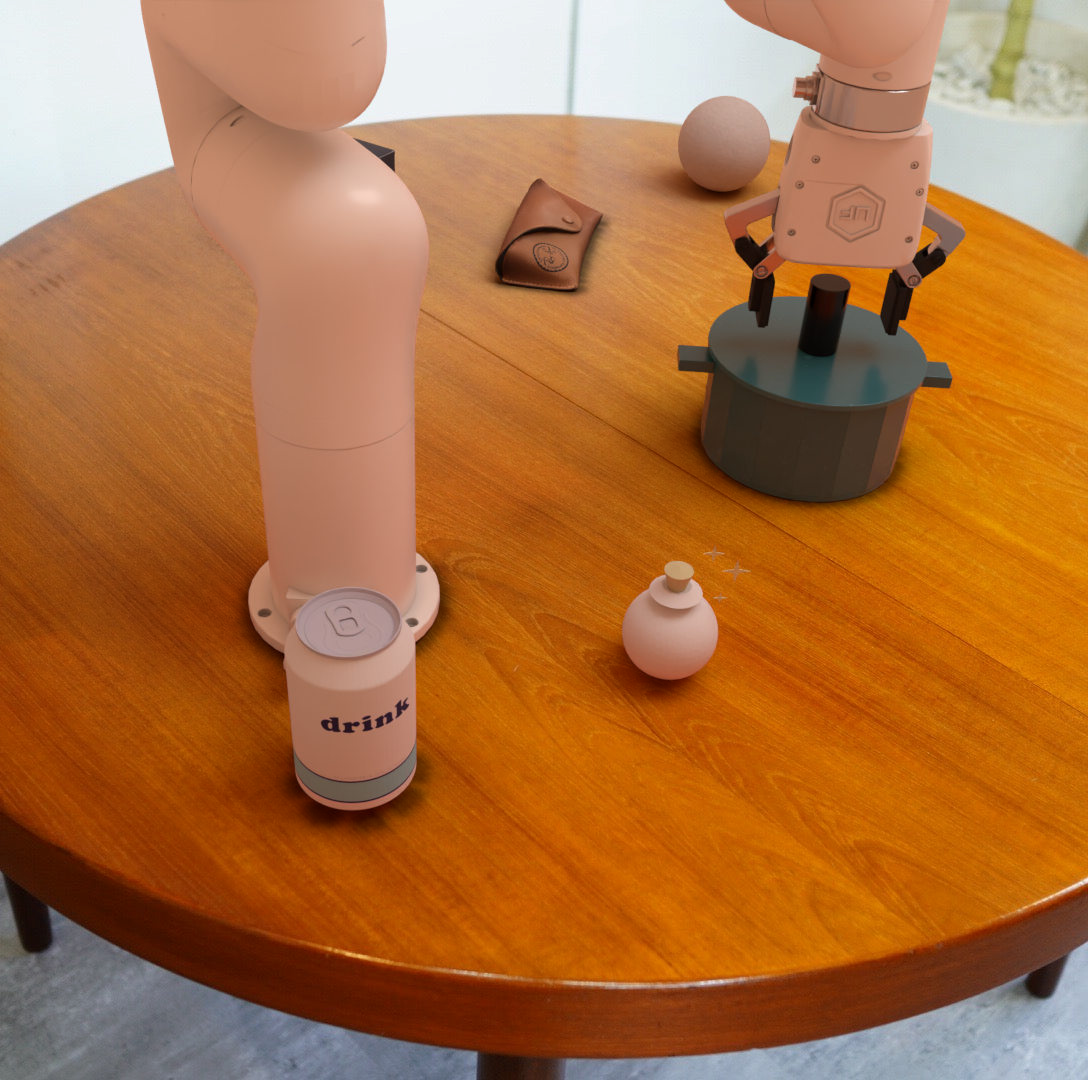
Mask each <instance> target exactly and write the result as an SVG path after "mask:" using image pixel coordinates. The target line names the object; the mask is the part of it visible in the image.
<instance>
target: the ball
mask: <svg viewBox="0 0 1088 1080" xmlns="http://www.w3.org/2000/svg"><path fill="white" fill-rule="evenodd" d="M677 150H678V151H677V153H678V157H679V160H680V163H681V167H682V168H683V170H684V171H685V173H686V175H687V176H688V177H689V178H690V179H691V180H692V181H693V182H695V183H696V184H697V185H699V186H700V187H702V188H704V189H707V190H710V191H712V192H721V193H723V192H731V191H735V190H738V189H741V188H744V187H745V186H747V185H748V184H750V183H751V182H753V181H754V180H755V179H756V178H757V177H758V176H759V175H760V173H761V172H762V170H763V169H764V168H765V166H766V163H767V162H768V158H769V156H770V150H771V133H770V128H769V124H768V122H767V120H766V118H765V116H764V115H763V114H762V112H761V111H760V110H759V108H757V107H756V106H755V105H754V104H752V103H750V102H749V101H748V100H745V99H743V98H741V97H737V96H733V95H719V96H715V97H711V98H709V99H706V100H704V101H702V102H701V103H699V104H697V106H695V107H694V108H693V109H692V110H691V111H690V112H689V114H687V116H686V117H685V120H684V121H683V124H682V125H681V128H680V131H679V134H678V141H677Z"/></svg>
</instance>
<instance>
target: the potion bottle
mask: <svg viewBox="0 0 1088 1080" xmlns="http://www.w3.org/2000/svg"><path fill="white" fill-rule="evenodd" d="M703 555H708V556H711V560H712V562H714V560H715V558H716V557H717V556H721V555H725V552H719V551H717V546H716V544H715V545H714V547H713V550H712V551H708V552H703ZM721 572H723V573H728V574H732V575H733V583H735V582H736V580H737V578H738V575H739V574H744V573H745V574H746V573H750V572H751V570H747V569H741V568H740V563H739V560H737V562H736V563H735V566H734V568H732V569H731V568H730V569H724V570H721ZM694 574H695V569H694V568H693V566H692V565H691V564H690V563H688V562H686V561H682V560H672V561H669V562H667V563H666V564H665V565H664V574H663V575H660V576H658V577H655V578H654V579H653V580H652V581H651V582H650V584H649V588H647V589H646V590H644V591H642V592H641V593H640V594H638V595H637V596H636V597H635V598H634V599H633V601H631V603H630V604H629V606H628V608H627V609H626V611H625V614H624V617H623V620H622V625H621V637H622V643H623V646H624V649H625V652H626V653H627V655H628V657H629V659H630V660H631V662H632V663H633V664H634V665H635V666H636V667H637V668H638V669H639V670H641V671H642V672H643V673H645V674H647V675H649V676H651V677H654V678H656V679H660V680H666V681H668V680H669V681H673V680H675V681H676V680H681V679H684V678H688V677H690V676H692V675H694V674H696V673H697V672H699V671H700V670H701V669H702V668H704V667H705V666H706V664H708V662H709V661H710V659H711V658H712V656H713V654H714V652H715V651H716V647H717V644H718V639H719V625H718V620H717V617H716V614H715V612H714V610H713V608H712V606H711V604H710V603H709V602H708V601H707V599H705V597H704V596H703V595H704V593H703V589H702V587H701V585H700V584H699V583H698V582H696V581H695V580H694V579H693V576H694ZM713 599H714V600H715V599H716V600H718V604H720V603H721V601H722V600H725V599H727V597H725V596H723V595H722V592H720V594H719V596H715V597H713Z"/></svg>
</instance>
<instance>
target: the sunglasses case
mask: <svg viewBox="0 0 1088 1080" xmlns="http://www.w3.org/2000/svg"><path fill="white" fill-rule="evenodd" d="M603 216H604V213H602V212H601V211H599V210H596V209H594V208H592V207H590V206H588V205H586V204H584V203H582V202H580V201H578V200H577V199H575V198H573V197H570V195H566V194H565V193H563V192H561V191H559V190H558V189H555V188H553V187H552V186H550V185H549V184H548V183H547V182H546V181H545V180H544V179H542V178H536V179H535V180H534V181H533V182H532V183H531V184H530V186H529V187H528V190H527V192H526V193H525V195H524V197H523V198H522V200H521V202H520V204H519V206H518V208H517V211H516V212H515V214H514V217H513V219H512V221H511V223H510V226H509V227H508V229H507V231H506V233H505V237H504V238H503V240H502V244H501V246H500V249H499V252H498V254H497V257H496V260H495V264H494V265H495V267H494V268H495V273H496V275H497V276H498V278H499V279H500V280H501V281H502V282H503V283H504V284H507V285H515V286H520V287H524V288H531V289H538V290H539V289H540V290H555V291H571V290H575V289H578V288H579V285H580V279H581V272H582V264H583V262H584V258H585V255H586V251H587V250H588V246H589V244H590V241H591V239H592V237H593V234H594V232H595V230H596V229H597V227H598V226H599V223H600V222H601V220H602V219H603Z"/></svg>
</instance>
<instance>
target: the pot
mask: <svg viewBox="0 0 1088 1080" xmlns="http://www.w3.org/2000/svg"><path fill="white" fill-rule="evenodd" d="M676 361H677V371H679V372H689V373H691V372H692V373H704V374H705V373H706V374H707V379H706V384H705V385H706V387H705V391H704V399H703V406H702V413H701V418H700V419H701V420H700V428H701V430H700V440H701V445H702V447H703V449H704V452H705V453H706V455H707V457H708V458H709V460H710V461H711V462H712V463H713V464H714V465H715V466H716V467H717V468H718V469H719V470H720V471H721V472H723V473H724V474H725V475H727V476H728V477H730V478H731V479H732V480H735V481H736V482H738V483H740V484H742V485H743V486H746V487H748V488H750V489H752V490H755V491H757V492H760V493H763V494H766V495H769V496H773V497H777V498H781V499H787V500H792V501H798V502H808V503H811V502H813V503H828V502H829V503H830V502H840V501H847V500H851V499H855V498H859V497H862V496H864V495H867V494H869V493H871V492H873V491H875V490H876V489H878V488H880V487H881V486H882V485H884V484H885V482H886V481H887V480H888V479H889V478H890V476H891V475H892V473H893V471H894V468H895V465H896V462H897V460H898V458H899V454H900V450H901V447H902V443H903V440H904V436H905V431H906V427H907V424H908V422H909V421H908V420H909V416H910V413H911V410H912V406H913V401H914V398H915V394H916V392H915V393H914V394H912V395H911V396H909V397H908V398H906V399H904V400H902V401H900V402H898V403H895V404H892V405H889V406H886V407H882V408H877V409H872V410H864V411H847V412H843V411H825V410H815V409H809V408H803V407H798V406H794V405H790V404H786V403H782V402H779V401H776V400H773V399H770V398H767V397H765V396H762V395H760V394H758V393H756V392H753V391H751V390H749V389H747V388H745V387H744V386H742V385H741V384H739V383H737V382H736V381H734V380H733V379H732V378H730V377H729V376H728V375H726V374H725V373H724V372H723V371H722V370H721V369H720V368H719V367H718V365H717V364H716V363H715V361H714V360H713V358H712V356H711V354H710V351H709V347H708V346H702V345H688V344H678V345H677V352H676ZM953 379H954V378H953V375H952V372H951V371H950V368H949V365H948V363H947V362H945V361H929V360H927V373H926V376H925V380H924V382H923V383H922V385H921V387H920V388H933V389H946V390H947V389H951V386H952V383H953Z"/></svg>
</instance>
